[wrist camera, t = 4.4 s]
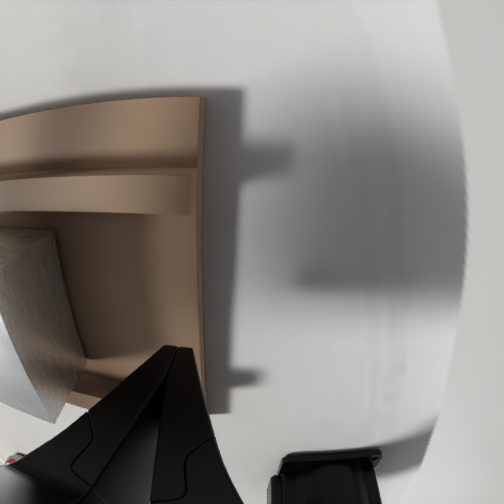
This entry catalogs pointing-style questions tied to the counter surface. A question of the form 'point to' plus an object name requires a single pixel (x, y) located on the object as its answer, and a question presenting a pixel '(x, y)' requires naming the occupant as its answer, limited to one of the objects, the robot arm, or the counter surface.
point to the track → (116, 224)
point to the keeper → (35, 326)
